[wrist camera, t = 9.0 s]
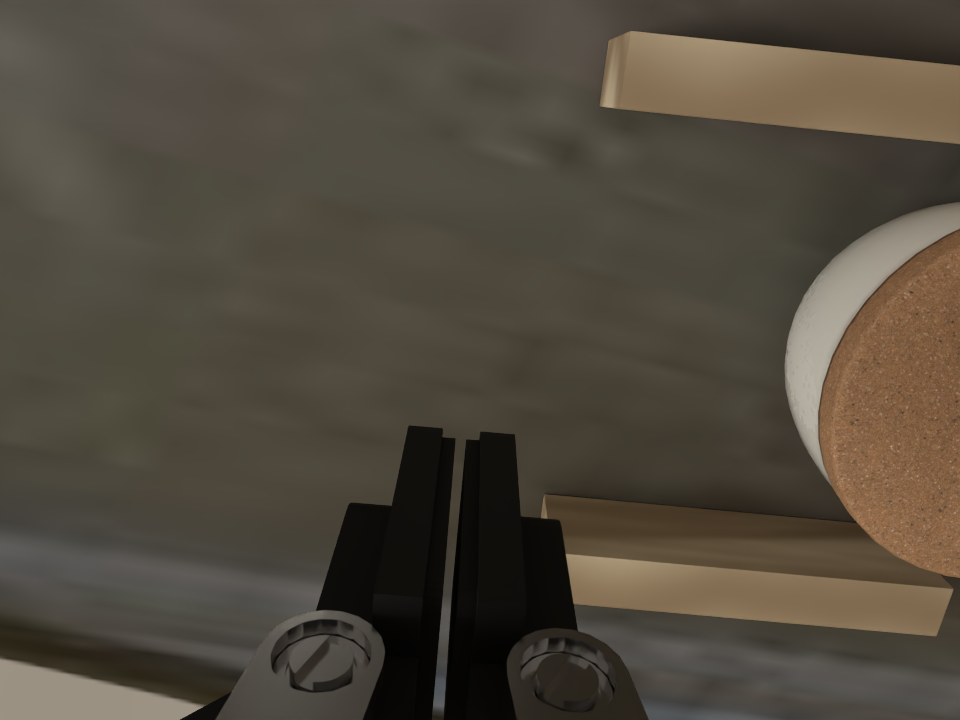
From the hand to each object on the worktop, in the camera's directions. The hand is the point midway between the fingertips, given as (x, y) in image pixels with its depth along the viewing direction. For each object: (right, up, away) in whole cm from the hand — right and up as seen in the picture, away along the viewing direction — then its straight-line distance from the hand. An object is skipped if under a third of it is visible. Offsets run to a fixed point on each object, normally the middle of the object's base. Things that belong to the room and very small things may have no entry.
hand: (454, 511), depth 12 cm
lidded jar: (+15, +4, +16) cm, 22 cm away
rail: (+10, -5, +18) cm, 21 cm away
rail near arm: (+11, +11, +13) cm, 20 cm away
